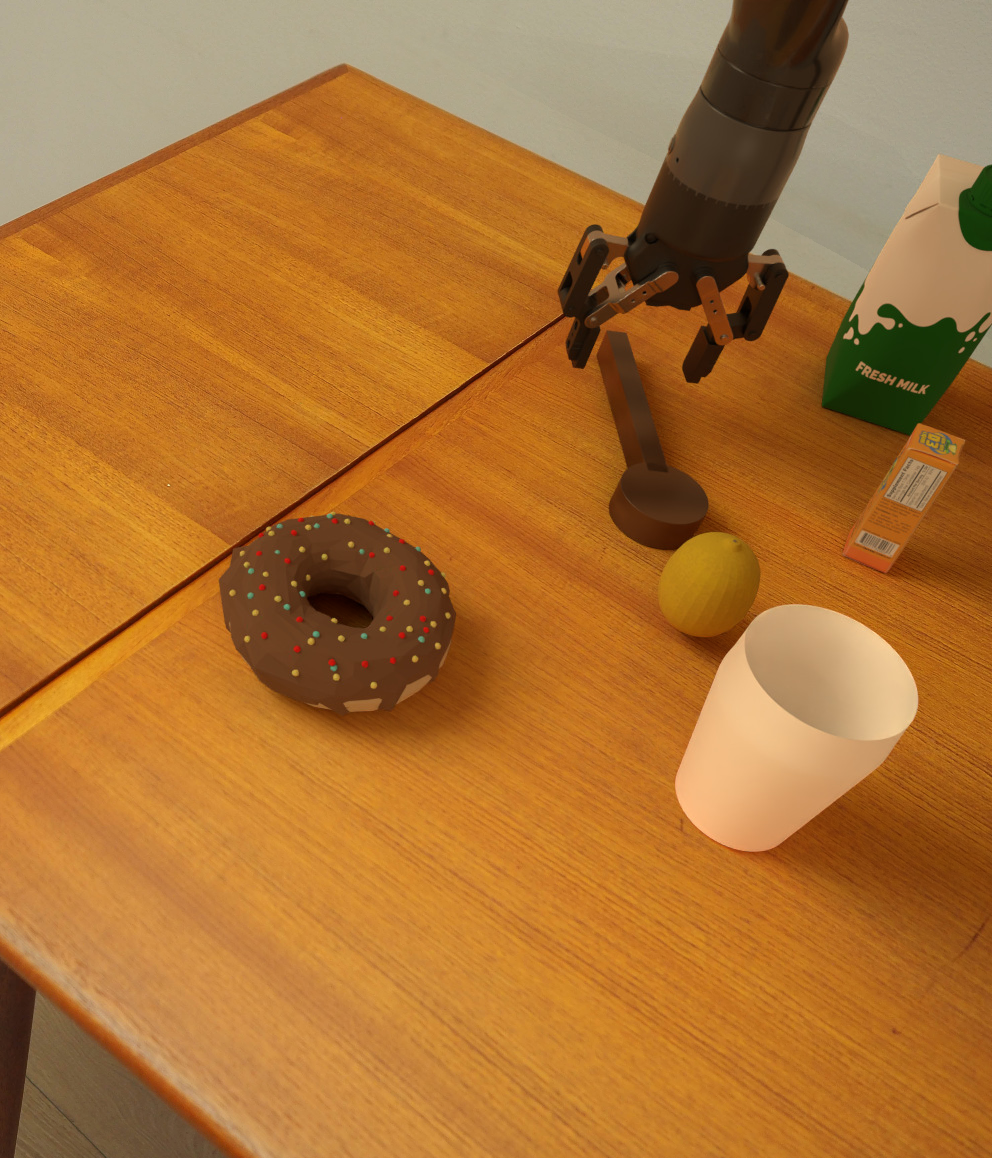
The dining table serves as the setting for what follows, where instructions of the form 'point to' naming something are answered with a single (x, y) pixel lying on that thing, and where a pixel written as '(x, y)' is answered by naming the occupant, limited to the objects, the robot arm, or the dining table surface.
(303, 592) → the donut
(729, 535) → the lemon
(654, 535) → the wooden spoon
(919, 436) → the supplement box
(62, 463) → the dining table surface
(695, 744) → the cup
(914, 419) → the milk carton
